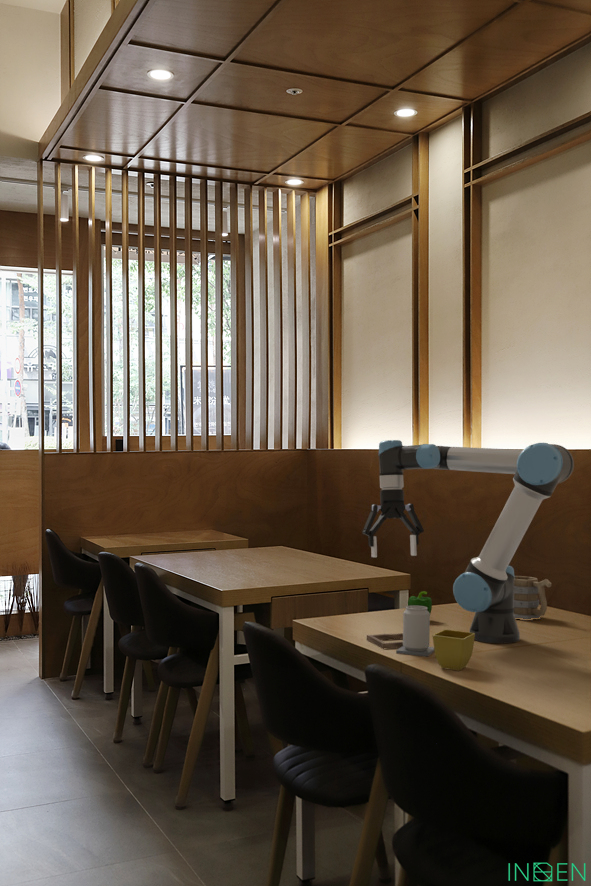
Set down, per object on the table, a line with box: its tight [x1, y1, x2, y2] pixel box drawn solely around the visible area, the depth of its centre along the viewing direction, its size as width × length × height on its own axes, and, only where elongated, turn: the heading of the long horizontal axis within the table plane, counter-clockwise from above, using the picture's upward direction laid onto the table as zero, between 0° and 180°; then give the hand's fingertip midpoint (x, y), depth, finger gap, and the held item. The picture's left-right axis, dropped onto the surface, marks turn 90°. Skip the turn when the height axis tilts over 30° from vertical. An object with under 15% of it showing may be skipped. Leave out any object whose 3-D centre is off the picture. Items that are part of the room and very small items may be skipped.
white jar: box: [402, 605, 431, 651], centre depth 236 cm, size 8×8×12 cm
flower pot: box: [432, 629, 475, 672], centre depth 218 cm, size 9×9×9 cm
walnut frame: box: [366, 632, 403, 650], centre depth 247 cm, size 12×12×2 cm
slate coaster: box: [395, 646, 435, 657], centre depth 236 cm, size 9×9×1 cm
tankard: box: [514, 575, 553, 619], centre depth 290 cm, size 20×13×15 cm, turn 25°
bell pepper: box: [407, 591, 433, 615], centre depth 285 cm, size 8×8×10 cm
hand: (394, 556), depth 260 cm, fingers open, 13 cm apart
